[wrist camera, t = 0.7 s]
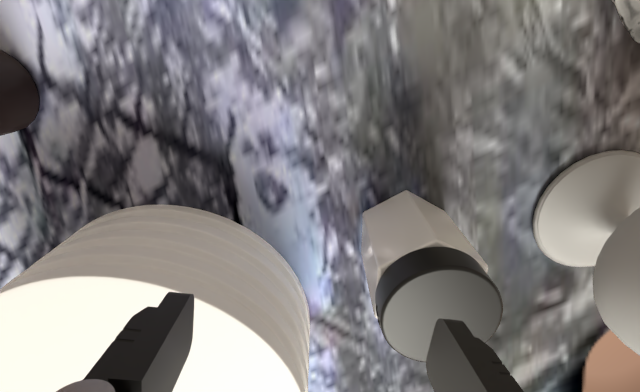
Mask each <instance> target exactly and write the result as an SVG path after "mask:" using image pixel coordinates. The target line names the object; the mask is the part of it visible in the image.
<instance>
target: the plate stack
mask: <svg viewBox="0 0 640 392" xmlns="http://www.w3.org/2000/svg"><path fill="white" fill-rule="evenodd" d="M168 292H177V293H187V294H193V295H194V320H193V338H192V344H191V349H190V352H189V355H188V358H187V360H186V362H185V364H184V367H183V369H182V371H181V373H180V375H179V378H178V380H177V382H176V384H175V387H174V389H173V391H172V392H308V370H309V334H310V315H309V307H308V303H307V299H306V296H305V293H304V290H303V288H302V286H301V283H300V281H299V280H298V278H297V276H296V274H295V273H294V271H293V270H292V268H291V267H290V266H289V264H288V263H287V262H286V260H285V259H284V258H283V257H282V256H281V255H280V254H279V253H278V252H277V251H276V250H275V249H274V248H273V247H272V246H271V245H270V244H269V243H267V242H266V241H265V240H264V239H262V238H261V237H260V236H258V235H257V234H255V233H254V232H252V231H251V230H249V229H247V228H246V227H244V226H242V225H240V224H238V223H236V222H234V221H232V220H230V219H228V218H225V217H223V216H220V215H217V214H214V213H211V212H208V211H204V210H200V209H196V208H191V207H185V206H178V205H142V206H135V207H129V208H125V209H121V210H117V211H114V212H111V213H108V214H106V215H103V216H101V217H99V218H97V219H95V220H93V221H91V222H90V223H88V224H87V225H85V226H84V227H82V228H81V229H79V230H78V231H77V232H75V233H74V234H73V235H72V236H70V237H69V238H68V239H66V240H65V241H63V242H62V243H61V244H59V245H58V246H57V247H55V248H54V249H53V250H52V251H51V252H49V253H48V254H46V255H45V256H43V257H42V258H41V259H39V260H38V261H37V262H35V263H34V264H33V265H32V266H30V267H29V268H28V269H27V270H25V271H24V272H22V273H21V274H19V275H18V276H17V277H15V278H14V279H13V280H11V281H10V282H9V283H7V284H6V285H5V286H4V287H3V288H1V289H0V392H56V391H58V390H59V389H61V388H63V387H65V386H67V385H69V384H71V383H74V382H77V381H81V380H83V379H84V378H85V377H86V375H87V374H88V373H89V371H90V370H91V369H92V368H93V366H94V365H95V364H96V362H97V361H98V360H99V359H100V357H101V356H102V355H103V353H104V352H105V351H106V350H107V348H108V347H109V346H110V344H111V343H112V342H113V341H115V338H116V337H117V335H118V334H119V333H120V332H121V331H123V328H124V327H125V325H126V324H127V323H128V321H129V320H130V319H131V318H132V316H134V315H135V314H137V313H138V312H140V311H141V310H143V309H144V308H146V307H158V306H159V304H160V303H161V301H162V300H163V299H164V297H165V296H166V294H167V293H168Z"/></svg>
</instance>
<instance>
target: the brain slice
mask: <svg viewBox="0 0 640 392" xmlns="http://www.w3.org/2000/svg"><path fill="white" fill-rule="evenodd" d="M611 1H612V2H613V3H614V4H615V6H616V9H617V12H618V15H619V17H620V19H621V22H622V24H623V25H624V27H625V28H626V30H627V31H629V32H630V34H631V37H632V38H633V40H634V41H636V42H638V43H640V0H611Z"/></svg>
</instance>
